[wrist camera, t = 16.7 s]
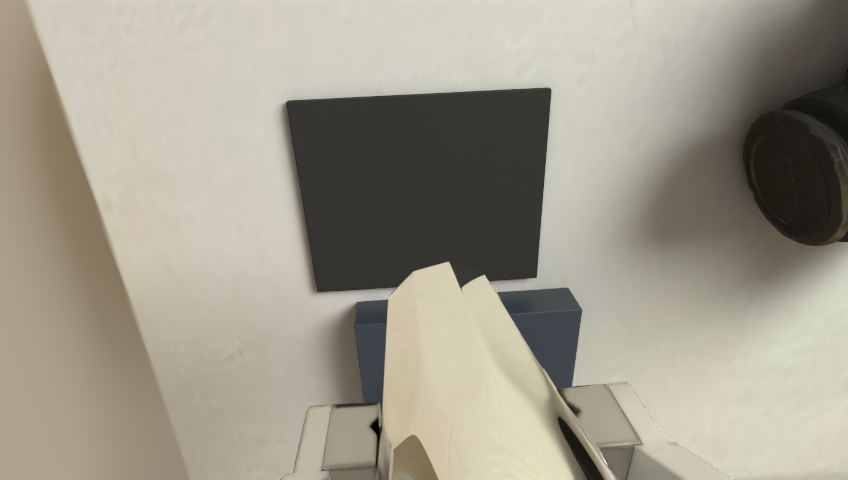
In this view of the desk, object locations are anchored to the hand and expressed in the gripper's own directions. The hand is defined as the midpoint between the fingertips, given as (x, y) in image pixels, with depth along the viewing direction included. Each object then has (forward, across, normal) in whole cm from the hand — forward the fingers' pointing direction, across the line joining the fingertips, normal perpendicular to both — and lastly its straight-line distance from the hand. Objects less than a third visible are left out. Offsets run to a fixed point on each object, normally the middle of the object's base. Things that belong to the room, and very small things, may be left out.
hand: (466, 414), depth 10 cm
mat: (+14, 0, 0) cm, 14 cm away
